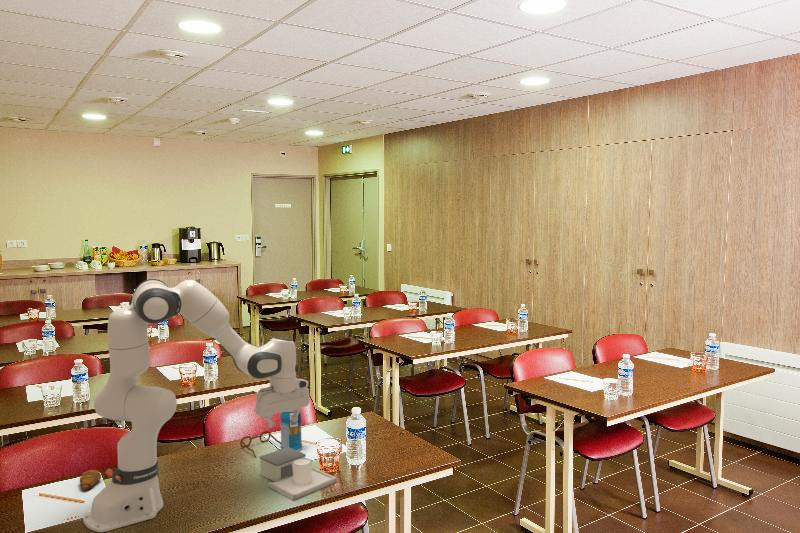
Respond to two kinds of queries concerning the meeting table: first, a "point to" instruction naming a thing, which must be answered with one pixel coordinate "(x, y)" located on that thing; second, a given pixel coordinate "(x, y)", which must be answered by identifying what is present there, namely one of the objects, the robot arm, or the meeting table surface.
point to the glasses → (256, 437)
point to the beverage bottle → (291, 431)
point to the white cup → (302, 471)
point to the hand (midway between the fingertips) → (282, 424)
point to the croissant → (89, 479)
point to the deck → (291, 474)
